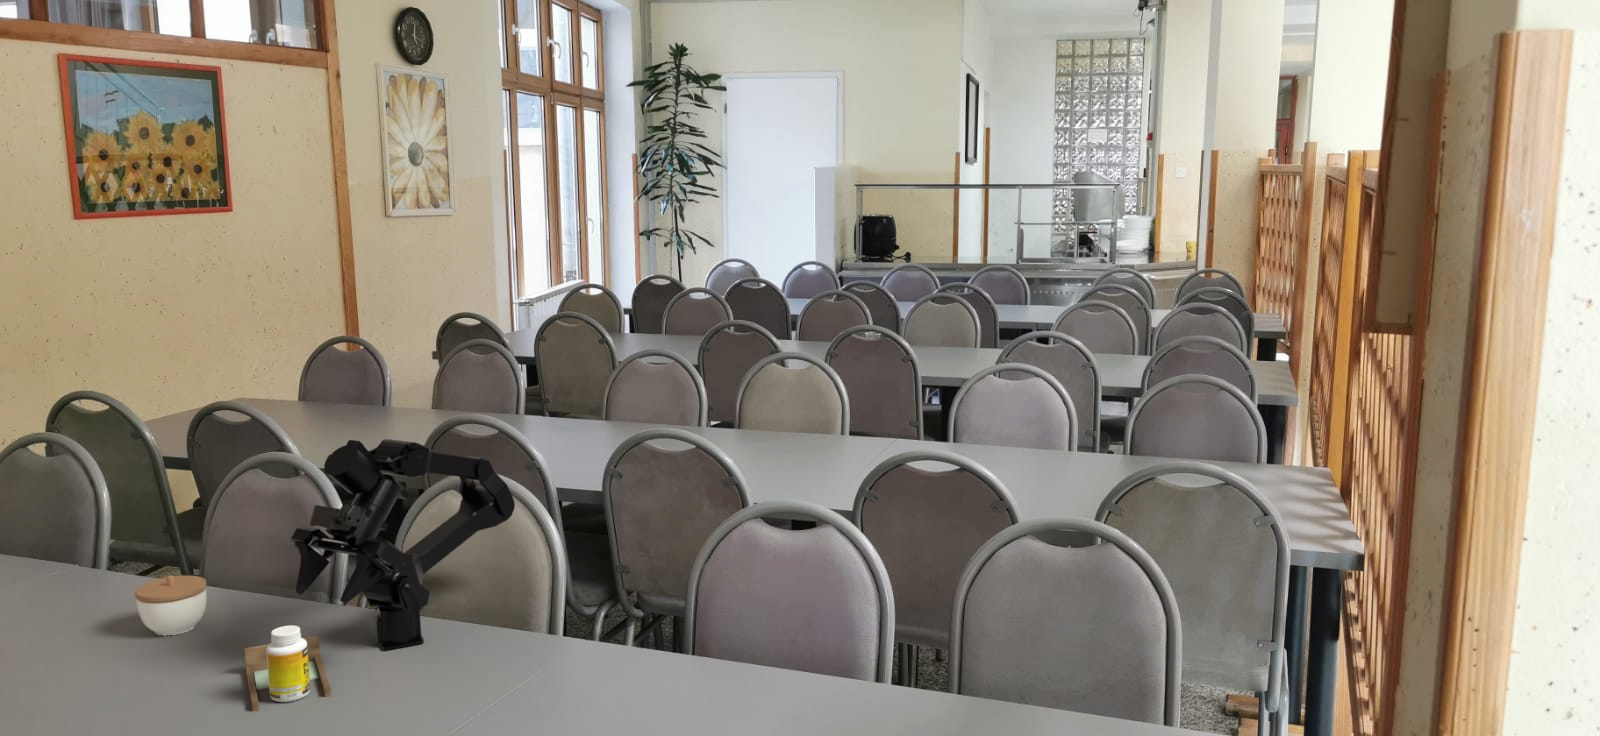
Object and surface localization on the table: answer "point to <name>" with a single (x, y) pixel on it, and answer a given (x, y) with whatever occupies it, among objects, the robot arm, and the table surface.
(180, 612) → the lidded jar
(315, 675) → the bay
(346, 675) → the table surface
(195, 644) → the table surface
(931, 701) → the table surface
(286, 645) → the supplement bottle
